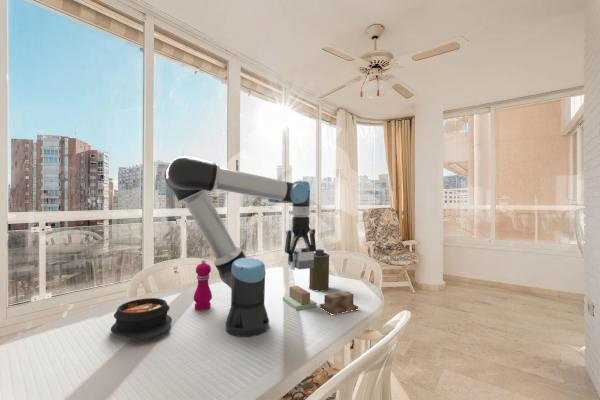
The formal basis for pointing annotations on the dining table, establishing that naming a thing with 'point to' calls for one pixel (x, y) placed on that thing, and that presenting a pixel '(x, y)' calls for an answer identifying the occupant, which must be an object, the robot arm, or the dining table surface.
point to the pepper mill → (203, 287)
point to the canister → (320, 271)
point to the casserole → (142, 318)
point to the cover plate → (303, 254)
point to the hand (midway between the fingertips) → (300, 268)
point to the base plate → (303, 264)
